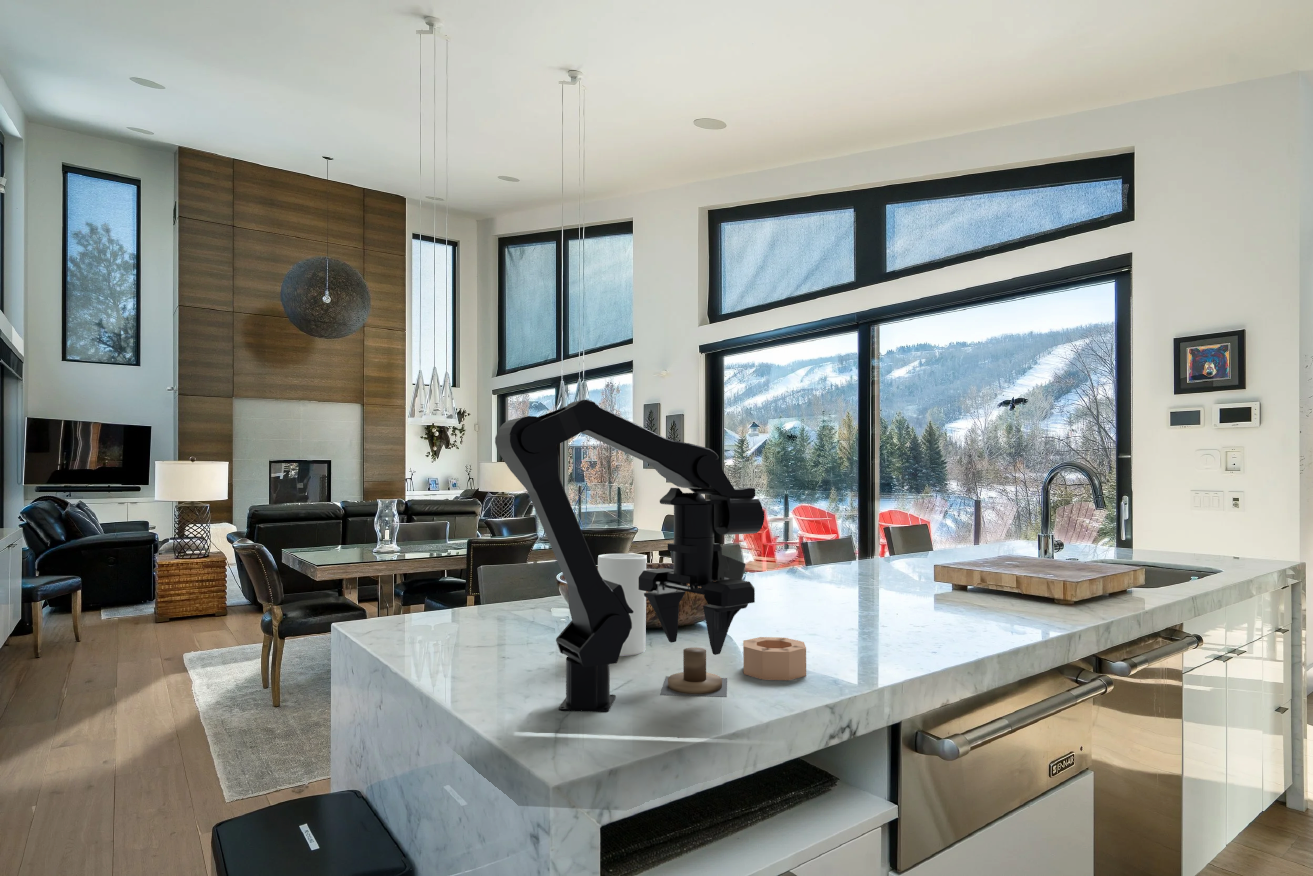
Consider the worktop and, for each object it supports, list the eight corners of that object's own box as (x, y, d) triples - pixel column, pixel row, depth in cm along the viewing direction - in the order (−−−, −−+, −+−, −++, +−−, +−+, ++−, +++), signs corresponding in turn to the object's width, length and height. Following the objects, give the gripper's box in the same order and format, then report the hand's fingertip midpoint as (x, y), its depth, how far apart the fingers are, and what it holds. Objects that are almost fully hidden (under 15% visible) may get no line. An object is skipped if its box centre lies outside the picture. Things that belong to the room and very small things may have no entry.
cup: (639, 658, 123) (640, 559, 124) (590, 655, 125) (591, 557, 125) (650, 647, 131) (651, 554, 132) (604, 645, 133) (605, 553, 134)
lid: (721, 695, 102) (721, 657, 102) (665, 693, 103) (665, 656, 103) (722, 679, 110) (722, 644, 110) (670, 677, 110) (670, 643, 111)
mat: (726, 699, 101) (726, 696, 101) (659, 697, 102) (659, 694, 102) (727, 680, 110) (727, 678, 110) (665, 679, 111) (665, 676, 111)
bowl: (808, 683, 109) (807, 652, 109) (743, 681, 110) (743, 650, 110) (802, 666, 118) (802, 638, 118) (743, 665, 119) (743, 636, 119)
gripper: (782, 538, 105) (782, 651, 104) (692, 529, 119) (692, 629, 119) (724, 543, 98) (724, 665, 97) (636, 533, 112) (636, 639, 112)
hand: (693, 648), depth 106 cm, fingers open, 9 cm apart
